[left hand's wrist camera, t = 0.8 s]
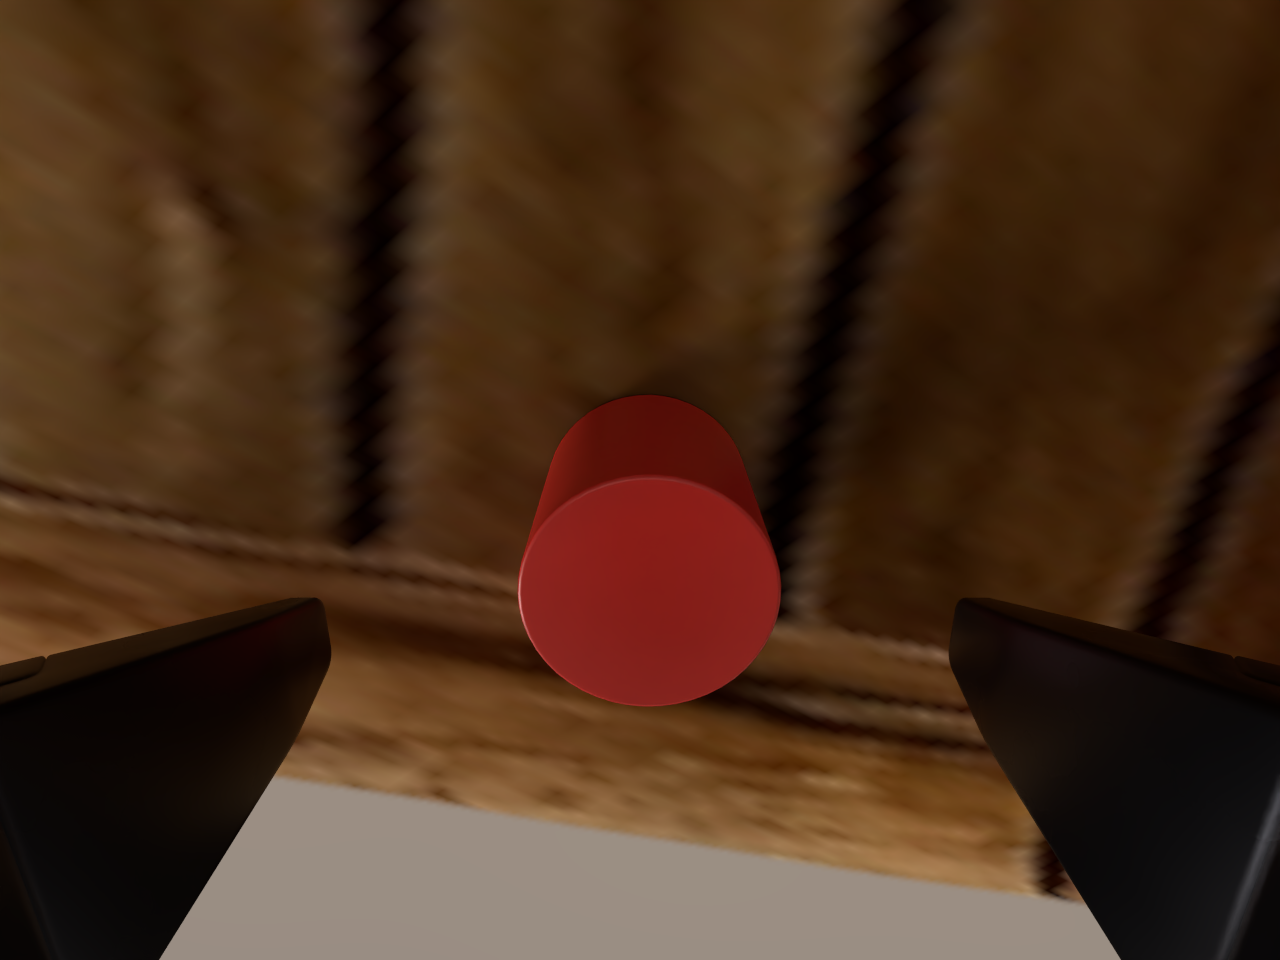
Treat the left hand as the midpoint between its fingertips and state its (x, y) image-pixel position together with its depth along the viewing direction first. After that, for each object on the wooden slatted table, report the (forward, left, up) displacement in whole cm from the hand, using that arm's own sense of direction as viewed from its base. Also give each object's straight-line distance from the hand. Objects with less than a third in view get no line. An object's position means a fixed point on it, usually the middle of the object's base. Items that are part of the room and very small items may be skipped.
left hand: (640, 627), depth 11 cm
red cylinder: (0, 0, -5) cm, 5 cm away
